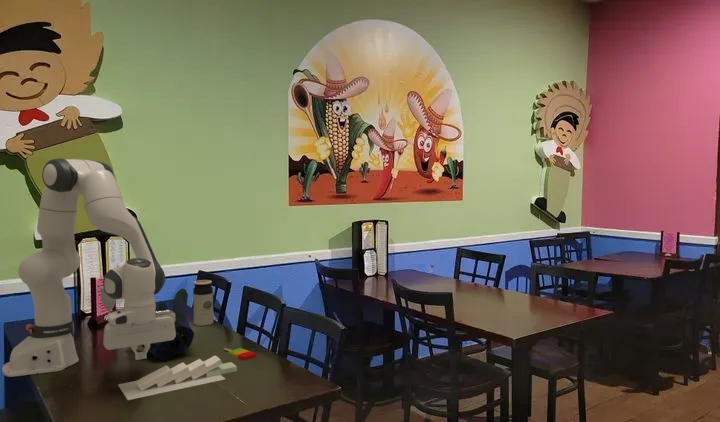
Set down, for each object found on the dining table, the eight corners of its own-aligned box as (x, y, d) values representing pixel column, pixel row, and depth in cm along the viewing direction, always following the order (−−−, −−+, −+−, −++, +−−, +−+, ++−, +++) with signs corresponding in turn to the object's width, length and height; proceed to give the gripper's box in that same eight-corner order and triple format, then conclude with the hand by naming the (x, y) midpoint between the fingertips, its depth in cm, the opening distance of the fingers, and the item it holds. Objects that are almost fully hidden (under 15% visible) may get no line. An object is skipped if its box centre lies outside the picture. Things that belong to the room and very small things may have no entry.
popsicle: (244, 362, 199) (244, 356, 199) (218, 353, 209) (217, 347, 209) (257, 357, 203) (256, 352, 203) (230, 349, 213) (230, 344, 213)
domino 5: (201, 372, 187) (231, 366, 192) (206, 377, 182) (236, 371, 188) (201, 367, 186) (231, 362, 192) (206, 372, 182) (236, 366, 188)
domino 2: (156, 383, 174) (187, 366, 179) (152, 378, 178) (183, 362, 183) (158, 387, 174) (189, 371, 179) (154, 382, 178) (184, 366, 183)
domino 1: (139, 386, 171) (171, 369, 176) (135, 381, 175) (166, 365, 180) (141, 391, 171) (173, 374, 176) (137, 385, 176) (168, 369, 181)
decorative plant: (152, 388, 199) (131, 343, 222) (221, 349, 209) (194, 310, 232) (128, 344, 188) (109, 302, 212) (201, 305, 198) (175, 269, 222)
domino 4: (191, 375, 180) (220, 359, 184) (186, 371, 184) (215, 355, 189) (193, 380, 180) (222, 363, 185) (188, 375, 184) (216, 359, 189)
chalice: (123, 329, 236) (121, 286, 235) (108, 334, 230) (106, 289, 229) (112, 327, 240) (110, 284, 238) (97, 331, 234) (95, 287, 233)
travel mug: (191, 322, 247) (190, 280, 245) (210, 320, 251) (209, 279, 249) (196, 327, 240) (195, 284, 238) (215, 324, 244) (214, 282, 242)
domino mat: (127, 401, 165) (127, 400, 165) (117, 385, 177) (117, 384, 177) (225, 380, 181) (225, 379, 181) (210, 367, 193) (210, 366, 193)
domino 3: (174, 379, 177) (204, 363, 182) (170, 374, 181) (199, 358, 186) (176, 383, 177) (206, 367, 182) (171, 378, 181) (201, 362, 186)
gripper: (172, 306, 181) (173, 350, 182) (101, 315, 170) (102, 361, 171) (178, 311, 176) (178, 355, 177) (105, 320, 165) (106, 368, 166)
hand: (140, 358), depth 174 cm, fingers closed
